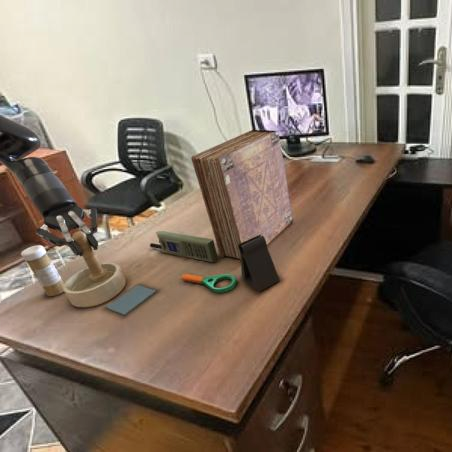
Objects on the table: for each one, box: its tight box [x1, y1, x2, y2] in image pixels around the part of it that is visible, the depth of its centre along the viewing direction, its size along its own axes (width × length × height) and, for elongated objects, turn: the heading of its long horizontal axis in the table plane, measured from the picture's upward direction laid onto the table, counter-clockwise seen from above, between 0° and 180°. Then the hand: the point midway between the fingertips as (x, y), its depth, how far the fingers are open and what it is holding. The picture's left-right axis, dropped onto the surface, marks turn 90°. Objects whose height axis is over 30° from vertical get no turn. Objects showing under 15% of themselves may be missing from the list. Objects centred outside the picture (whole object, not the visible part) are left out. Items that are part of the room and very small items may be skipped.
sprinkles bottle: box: [20, 244, 65, 297], centre depth 90 cm, size 5×5×13 cm
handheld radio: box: [149, 230, 219, 263], centre depth 102 cm, size 7×3×25 cm
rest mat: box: [105, 284, 157, 316], centre depth 87 cm, size 9×7×1 cm
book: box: [190, 129, 294, 260], centre depth 101 cm, size 25×9×30 cm, turn 154°
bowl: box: [63, 261, 127, 308], centre depth 90 cm, size 13×13×5 cm
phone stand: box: [238, 234, 280, 293], centre depth 87 cm, size 9×6×12 cm, turn 40°
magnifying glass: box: [181, 273, 237, 294], centre depth 90 cm, size 15×6×2 cm, turn 72°
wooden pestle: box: [71, 230, 109, 283], centre depth 88 cm, size 4×4×14 cm
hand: (88, 251), depth 85 cm, fingers closed on wooden pestle, 2 cm apart
